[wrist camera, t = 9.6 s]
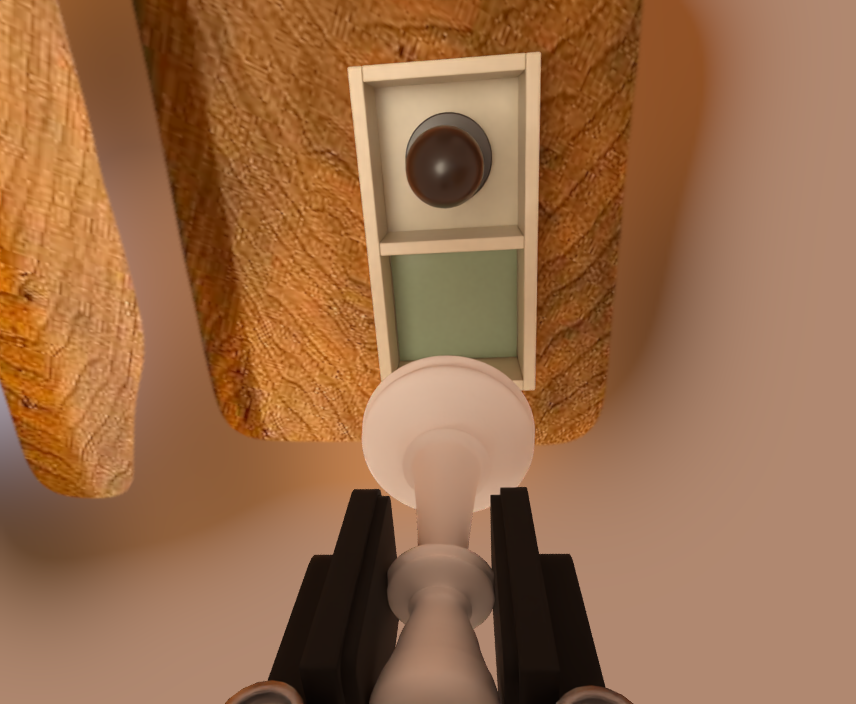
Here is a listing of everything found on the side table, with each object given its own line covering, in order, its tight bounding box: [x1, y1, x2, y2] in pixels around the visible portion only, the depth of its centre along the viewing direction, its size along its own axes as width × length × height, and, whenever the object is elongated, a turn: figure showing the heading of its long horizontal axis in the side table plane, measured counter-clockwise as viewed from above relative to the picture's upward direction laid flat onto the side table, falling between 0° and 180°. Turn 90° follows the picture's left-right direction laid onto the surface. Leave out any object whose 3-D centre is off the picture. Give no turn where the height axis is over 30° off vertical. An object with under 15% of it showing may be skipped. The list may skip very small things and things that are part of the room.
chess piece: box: [362, 355, 535, 704], centre depth 10 cm, size 5×5×10 cm
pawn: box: [405, 112, 492, 209], centre depth 21 cm, size 4×4×8 cm
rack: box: [347, 52, 541, 391], centre depth 25 cm, size 8×15×4 cm, turn 4°
